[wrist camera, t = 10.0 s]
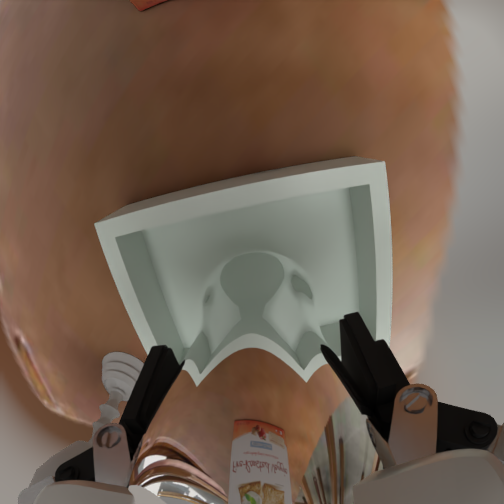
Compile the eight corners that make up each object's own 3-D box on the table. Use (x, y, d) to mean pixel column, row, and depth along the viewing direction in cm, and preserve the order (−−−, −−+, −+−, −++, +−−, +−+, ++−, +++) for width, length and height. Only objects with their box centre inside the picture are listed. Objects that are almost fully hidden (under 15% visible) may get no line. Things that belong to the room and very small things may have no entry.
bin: (126, 205, 18) (94, 223, 14) (355, 156, 17) (384, 161, 13) (179, 351, 22) (167, 391, 18) (368, 317, 21) (388, 354, 17)
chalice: (147, 340, 22) (64, 550, 5) (175, 397, 24) (135, 576, 7) (80, 345, 23) (-13, 503, 6) (112, 397, 25) (54, 545, 8)
